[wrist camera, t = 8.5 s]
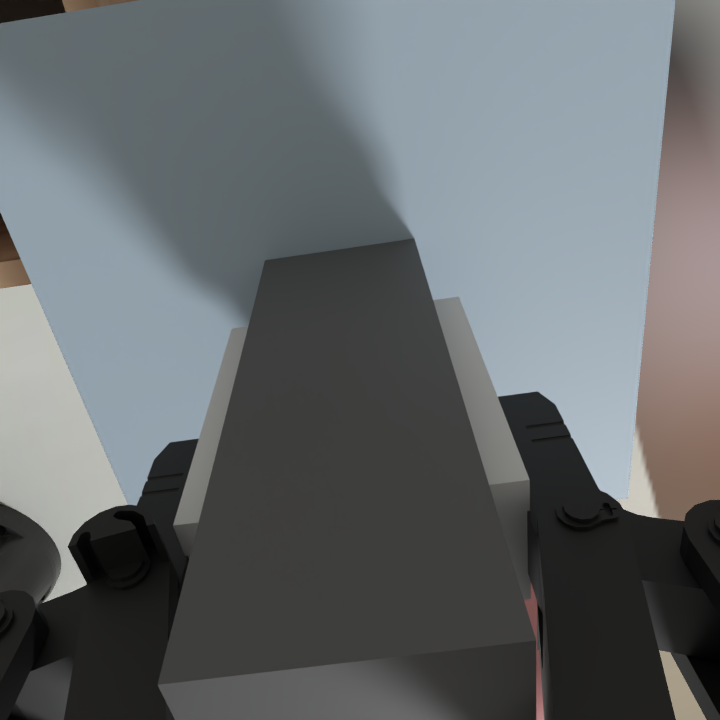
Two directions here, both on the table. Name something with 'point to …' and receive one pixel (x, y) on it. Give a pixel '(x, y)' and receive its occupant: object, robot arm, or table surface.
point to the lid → (341, 307)
